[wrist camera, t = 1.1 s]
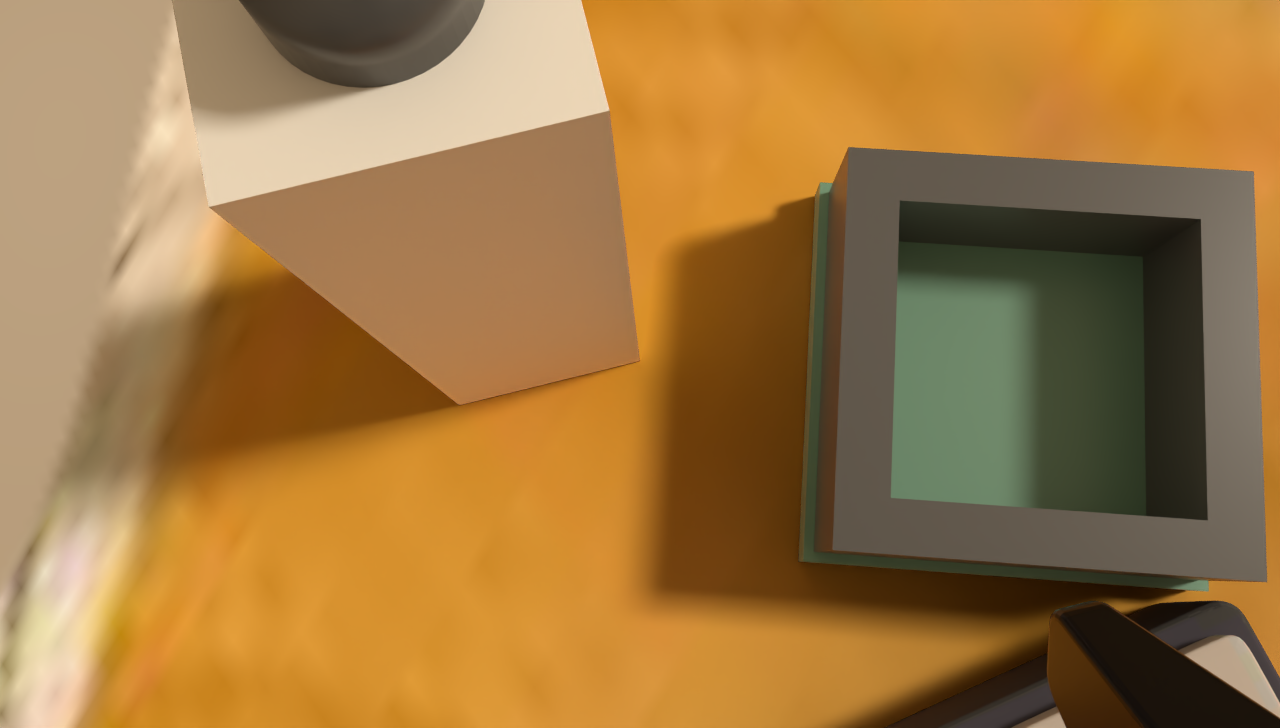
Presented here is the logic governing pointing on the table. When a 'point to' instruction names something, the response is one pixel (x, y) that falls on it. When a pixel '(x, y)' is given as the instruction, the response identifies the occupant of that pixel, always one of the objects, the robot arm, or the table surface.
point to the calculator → (1202, 630)
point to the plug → (424, 175)
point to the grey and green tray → (1034, 371)
